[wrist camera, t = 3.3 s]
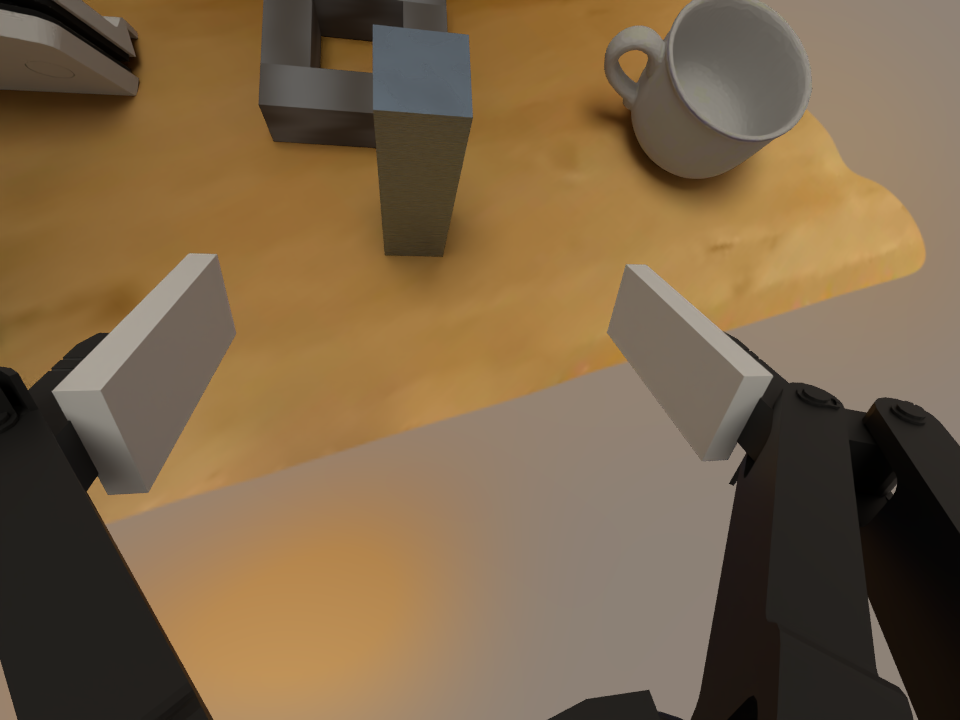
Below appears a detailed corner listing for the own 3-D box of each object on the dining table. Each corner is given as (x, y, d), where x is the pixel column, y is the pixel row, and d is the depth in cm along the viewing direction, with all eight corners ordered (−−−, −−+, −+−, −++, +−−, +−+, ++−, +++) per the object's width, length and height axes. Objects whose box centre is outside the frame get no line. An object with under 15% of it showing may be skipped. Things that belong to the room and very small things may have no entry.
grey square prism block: (384, 255, 32) (373, 109, 18) (384, 202, 32) (372, 24, 19) (442, 256, 32) (472, 117, 19) (440, 204, 33) (468, 34, 20)
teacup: (746, 116, 40) (830, 35, 32) (717, 220, 37) (800, 160, 29) (601, 45, 38) (651, -58, 31) (560, 147, 36) (604, 64, 28)
